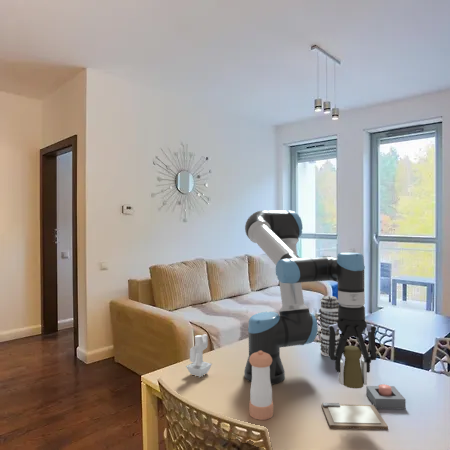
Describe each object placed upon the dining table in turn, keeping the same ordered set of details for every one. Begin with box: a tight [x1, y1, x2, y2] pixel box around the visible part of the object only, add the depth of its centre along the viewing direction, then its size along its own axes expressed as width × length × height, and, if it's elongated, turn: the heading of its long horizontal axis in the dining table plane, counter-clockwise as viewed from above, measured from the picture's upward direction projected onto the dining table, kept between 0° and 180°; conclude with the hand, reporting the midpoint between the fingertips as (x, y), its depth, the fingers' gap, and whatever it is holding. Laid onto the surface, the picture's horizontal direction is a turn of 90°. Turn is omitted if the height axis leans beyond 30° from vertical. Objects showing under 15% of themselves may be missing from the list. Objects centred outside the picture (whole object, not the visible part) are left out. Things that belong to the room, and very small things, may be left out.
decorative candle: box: [318, 295, 341, 358], centre depth 161 cm, size 9×9×25 cm
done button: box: [378, 383, 392, 396], centre depth 117 cm, size 4×4×2 cm
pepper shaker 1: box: [248, 351, 274, 421], centre depth 111 cm, size 7×7×19 cm
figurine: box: [185, 333, 213, 378], centre depth 141 cm, size 7×9×15 cm
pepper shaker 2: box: [342, 345, 364, 389], centre depth 108 cm, size 6×6×11 cm
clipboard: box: [320, 402, 389, 430], centre depth 108 cm, size 16×12×1 cm
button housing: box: [365, 385, 407, 410], centre depth 117 cm, size 9×9×3 cm
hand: (352, 382), depth 108 cm, fingers closed on pepper shaker 2, 6 cm apart
